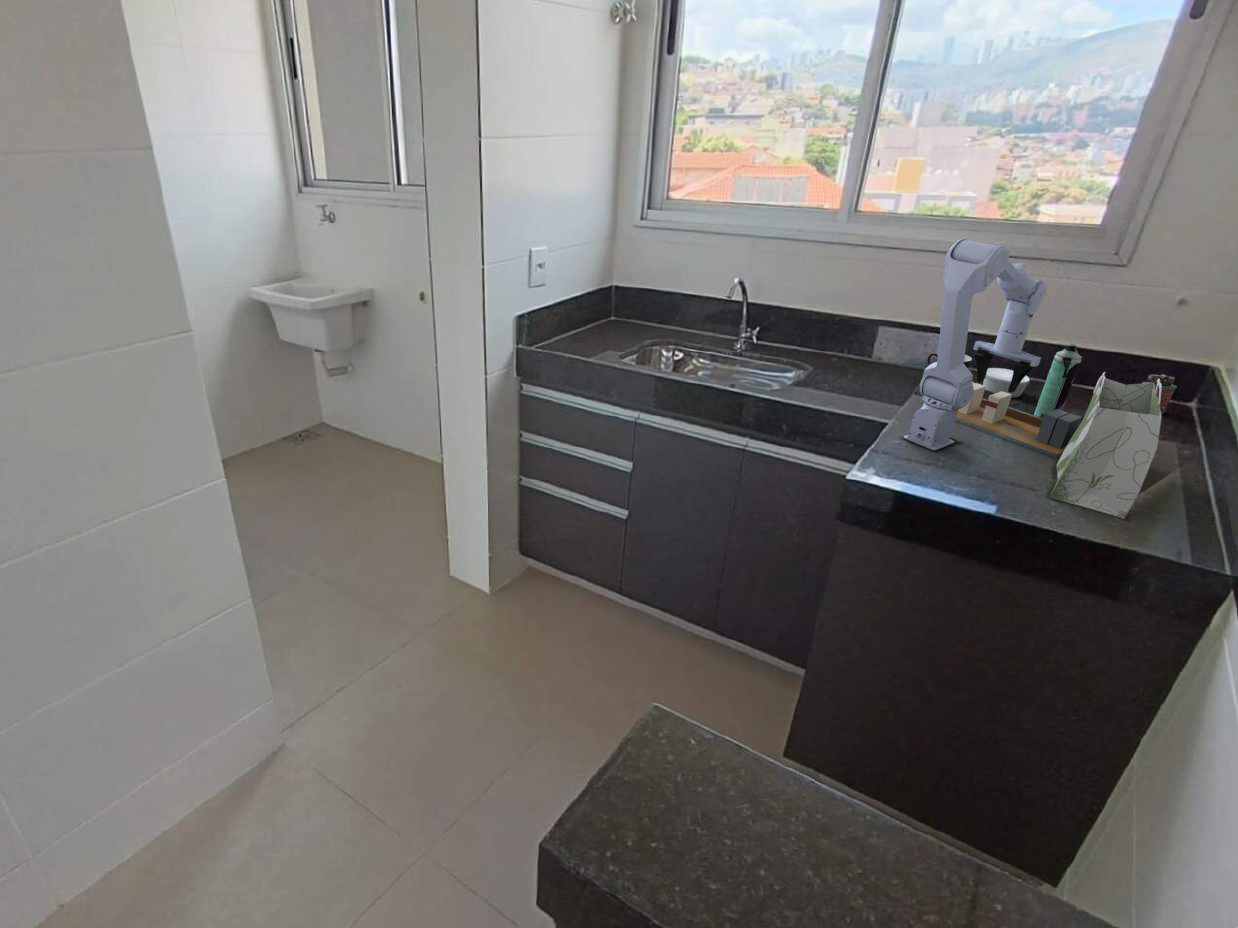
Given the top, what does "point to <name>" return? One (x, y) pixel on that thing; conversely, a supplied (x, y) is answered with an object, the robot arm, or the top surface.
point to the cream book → (996, 407)
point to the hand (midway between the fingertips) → (995, 386)
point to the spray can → (1059, 381)
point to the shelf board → (1013, 426)
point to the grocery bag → (1111, 448)
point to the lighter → (1163, 389)
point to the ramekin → (1003, 381)
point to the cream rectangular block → (974, 400)
